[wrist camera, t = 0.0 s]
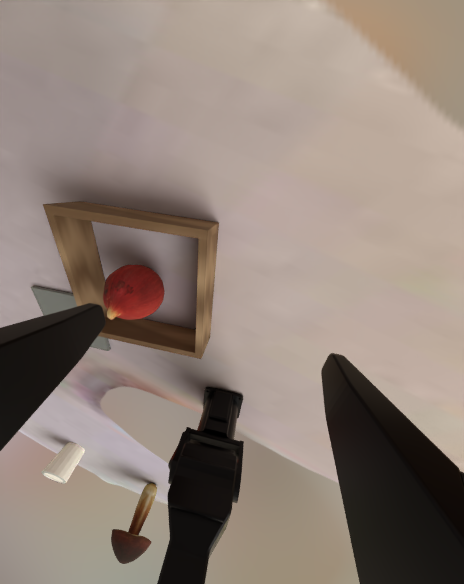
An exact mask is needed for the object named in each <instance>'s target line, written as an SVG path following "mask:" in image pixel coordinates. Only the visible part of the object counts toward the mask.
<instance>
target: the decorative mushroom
mask: <svg viewBox="0 0 464 584" xmlns="http://www.w3.org/2000/svg"><path fill="white" fill-rule="evenodd" d="M156 492H157V487H156V485H155V484H153V483H150V484H147V485H146V486H145V488H144V490H143V492H142V494H141V497H140V499H139V502H138V505H137V508H136V510H135V513H134V517H133V520H132V523H131V526H130V528H129V532H126V531H123V530H117V529H113V530H112V537H111V542H112V547H113V550H114V553H115V556H116V558H117V559H118V561H119V562H120V563H122V564H126V563H129V562H132V561H134V560H135V559H137V558H138V557H139V556H141V555H142V554H143V553H144V552H145V551H146V550H147V548H148V547H149V545H150V544H151V541H150V540H149V539H147V538H145V537H143V536H138V535H139V532H140V530H141V528H142V526H143V524H144V521H145V519H146V517H147V515H148V513H149V511H150V508H151V506H152V504H153V501H154V499H155V496H156Z"/></svg>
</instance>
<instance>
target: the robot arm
mask: <svg viewBox="0 0 464 584" xmlns="http://www.w3.org/2000/svg"><path fill="white" fill-rule="evenodd" d="M105 324H106V319H105V315H104V312H103V308H102V306H101V305H98V304H93V303H88V304H84V305H81V306H77V307H74V308H70V309H66V310H63V311H59V312H56V313H52V314H48V315H45V316H41V317H38V318H34V319H31V320H27V321H23V322H20V323H16V324H13V325H9V326H5V327H2V328H0V451H1V450H2V449H3V448H4V446H5V445H6V444H7V443H8V442H9V441H10V440H11V438H12V437H13V436H14V435H15V434H16V432H18V430H19V429H20V428H21V427H22V426H23V425H24V424H25V422H26V421H27V420H28V419H29V418H30V417H31V416H32V414H33V413H34V412H35V411H36V410H37V409H38V408H39V406H40V405H41V404H42V403H43V402H44V401H45V400H46V398H47V397H48V396H49V395H50V394H51V393H52V392H53V390H54V389H55V388H56V387H57V386H58V385H59V384H60V382H61V381H62V380H63V379H64V378H65V377H66V376H67V374H68V373H69V372H70V371H71V370H72V369H73V368H74V366H75V365H76V364H77V363H78V362H79V361H80V359H81V358H82V357H83V355H84V354H85V353H86V351H87V350H88V349H89V347H90V346H91V345H92V343H93V342H94V340H95V339H96V338H97V336H98V335H99V334H100V332H101V331H102V329H103V328H104V327H105ZM321 374H322V385H323V395H324V405H325V414H326V421H327V426H328V431H329V436H330V441H331V446H332V451H333V455H334V460H335V465H336V470H337V475H338V480H339V485H340V489H341V494H342V499H343V504H344V509H345V514H346V519H347V524H348V528H349V533H350V538H351V543H352V548H353V553H354V558H355V562H356V567H357V572H358V577H359V582H360V584H464V473H463V472H461V471H460V470H459V468H458V467H457V466H456V465H455V464H454V463H453V462H452V461H451V460H450V459H449V458H448V457H447V456H446V455H445V454H444V453H443V452H442V451H441V450H440V449H439V448H438V447H437V446H436V445H435V444H433V443H432V442H431V441H430V440H429V439H428V438H427V437H426V436H425V435H424V434H423V433H422V432H421V431H420V430H419V429H418V428H417V427H416V426H415V425H414V424H413V423H412V422H411V421H410V420H409V419H408V418H407V417H406V416H405V415H404V414H403V413H402V412H401V411H400V410H399V409H398V408H397V407H396V406H395V405H394V404H393V403H392V402H390V401H389V400H388V399H387V398H386V397H385V396H384V395H383V394H382V393H381V392H380V391H379V390H378V389H377V388H376V387H375V386H374V385H373V384H372V383H371V382H370V381H369V380H368V379H367V378H366V377H365V376H364V375H363V374H362V373H361V372H360V371H359V370H358V369H357V368H356V367H355V366H354V365H353V364H352V363H351V362H350V361H348V360H347V359H346V358H345V357H344V356H343V355H339V354H334V353H331V354H330V355H329V356H328V358H327V360H326V362H325V364H324V366H323V368H322V373H321ZM242 401H243V396H242V395H240V394H235V393H231V392H227V391H223V390H218V389H214V388H210V387H206V388H205V394H204V407H203V409H204V410H203V413H202V417H201V420H200V423H199V426H198V430H194V429H191V428H189V427H187V429H186V431H185V432H183V433H182V436H181V439H180V442H179V444H178V446H177V448H176V450H175V452H174V454H173V456H172V458H171V460H170V462H169V465H168V466H169V469H170V473H169V481H168V483H169V484H171V485H170V488H169V492H168V509H169V528H170V541H169V545H168V548H167V552H166V555H165V559H164V563H163V566H162V569H161V573H160V576H159V580H158V583H157V584H204V583H205V578H206V572H207V565H208V559H209V557H210V555H211V554H212V552H213V550H214V548H215V547H216V545H217V543H218V541H219V539H220V538H221V536H222V534H223V533H224V531H225V529H226V527H227V523H228V521H229V517H230V514H231V510H232V502H235V503H237V501H238V496H239V489H240V482H241V472H242V458H243V443H244V442H243V441H237V440H234V435H235V428H236V421H237V418H238V417H239V413H240V409H241V405H242Z"/></svg>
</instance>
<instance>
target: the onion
mask: <svg viewBox="0 0 464 584" xmlns="http://www.w3.org/2000/svg"><path fill="white" fill-rule="evenodd" d="M163 298H164V286H163V282H162V280H161V278H160V277H159V275H158V274H157V273H155V272H154V271H153V270H152V269H150V268H148V267H145V266H142V265H126V266H123V267H121V268H119V269H117V270H116V271H114V272H113V273H112V274H110V275H109V277H108V278H107V280H106V282H105V286H104V293H103V301H104V305H105V307H106V308H107V317H108V318H109V319H111V320H113V319H114V318H115V317H118V318H122V319H126V320H134V319H141V318H144V317H146V316H148V315H150V314H152V313H153V312H155V311H156V310H157V309H158V307H159V306H160V305H161V303H162V301H163Z"/></svg>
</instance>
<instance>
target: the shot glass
mask: <svg viewBox="0 0 464 584" xmlns="http://www.w3.org/2000/svg"><path fill="white" fill-rule="evenodd" d="M84 452H85V449H84V448H83V447H81V446H80V445H78V444H75V443H71V442H69V443H67V444H66V445H65V446H64V448H63V449H62V450H61V451H60V452H59V453H58V454H57V455H56V457H55V458H54V459H53V460H52V461H51V462H50V463H49V465H48V466H47V467H46V468H45V469H44V470H43V471H42V474H43V475H44V476H46V477H47V478H49V479H51V480H53V481H56V482H59V483H66V482H67V480H68V479H69V477H70V475H71V474H72V472H73V470H74V469H75V467H76V465H77V464H78V462H79V461H80V459H81V457H82V456H83V454H84Z"/></svg>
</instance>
